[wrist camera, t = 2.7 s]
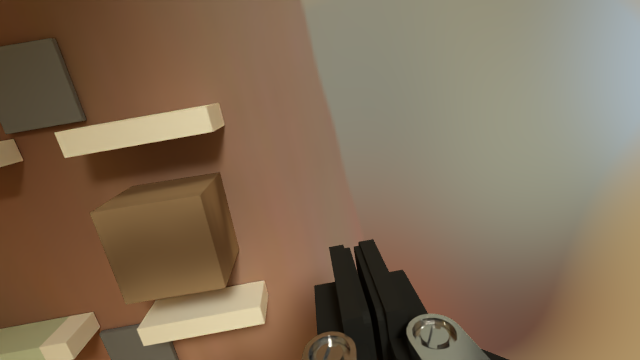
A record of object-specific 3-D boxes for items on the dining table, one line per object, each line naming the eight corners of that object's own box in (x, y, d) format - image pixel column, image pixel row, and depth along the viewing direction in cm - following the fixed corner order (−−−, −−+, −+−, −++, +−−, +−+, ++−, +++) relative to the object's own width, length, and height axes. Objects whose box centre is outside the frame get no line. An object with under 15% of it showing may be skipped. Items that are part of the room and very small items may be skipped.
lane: (-259, 186, 17) (-352, 203, 14) (219, 102, 17) (206, 105, 15) (-121, 367, 20) (-178, 405, 18) (268, 295, 21) (264, 323, 18)
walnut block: (133, 185, 18) (89, 212, 14) (220, 171, 18) (200, 195, 14) (159, 261, 20) (125, 304, 16) (239, 248, 20) (225, 287, 16)
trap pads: (-27, 52, 16) (-33, 52, 15) (55, 38, 16) (50, 38, 15) (123, 377, 22) (121, 381, 21) (181, 366, 22) (179, 370, 22)
